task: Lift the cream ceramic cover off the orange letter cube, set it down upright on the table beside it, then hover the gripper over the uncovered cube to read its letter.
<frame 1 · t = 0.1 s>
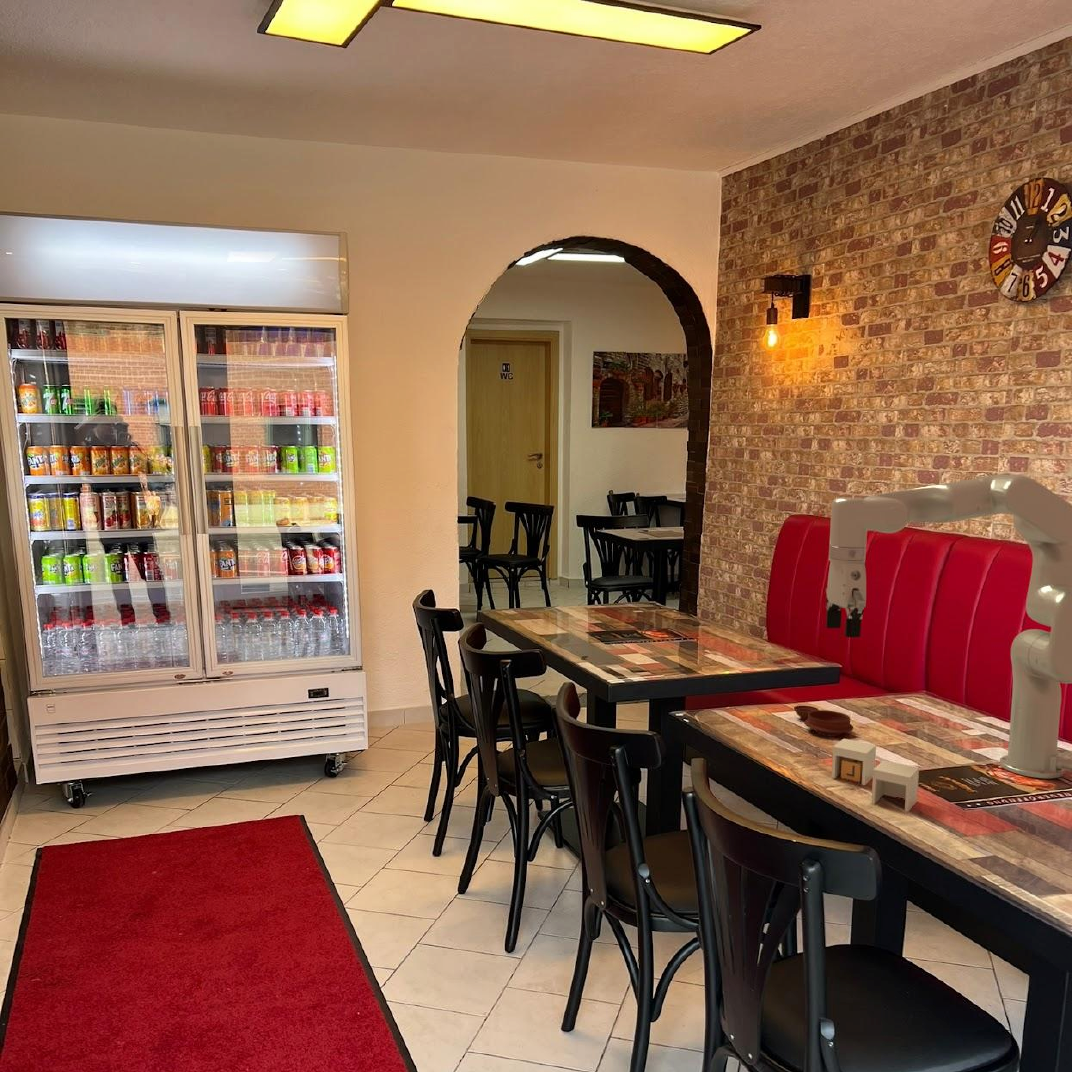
hand: (842, 632, 196), 31 cm above the table, tool pointing down, fingers open, 9 cm apart
cover empty: (894, 802, 181), on the table
cover cube: (853, 777, 194), on the table
letter cube: (853, 777, 195), on the table
pottery: (819, 728, 230), on the table
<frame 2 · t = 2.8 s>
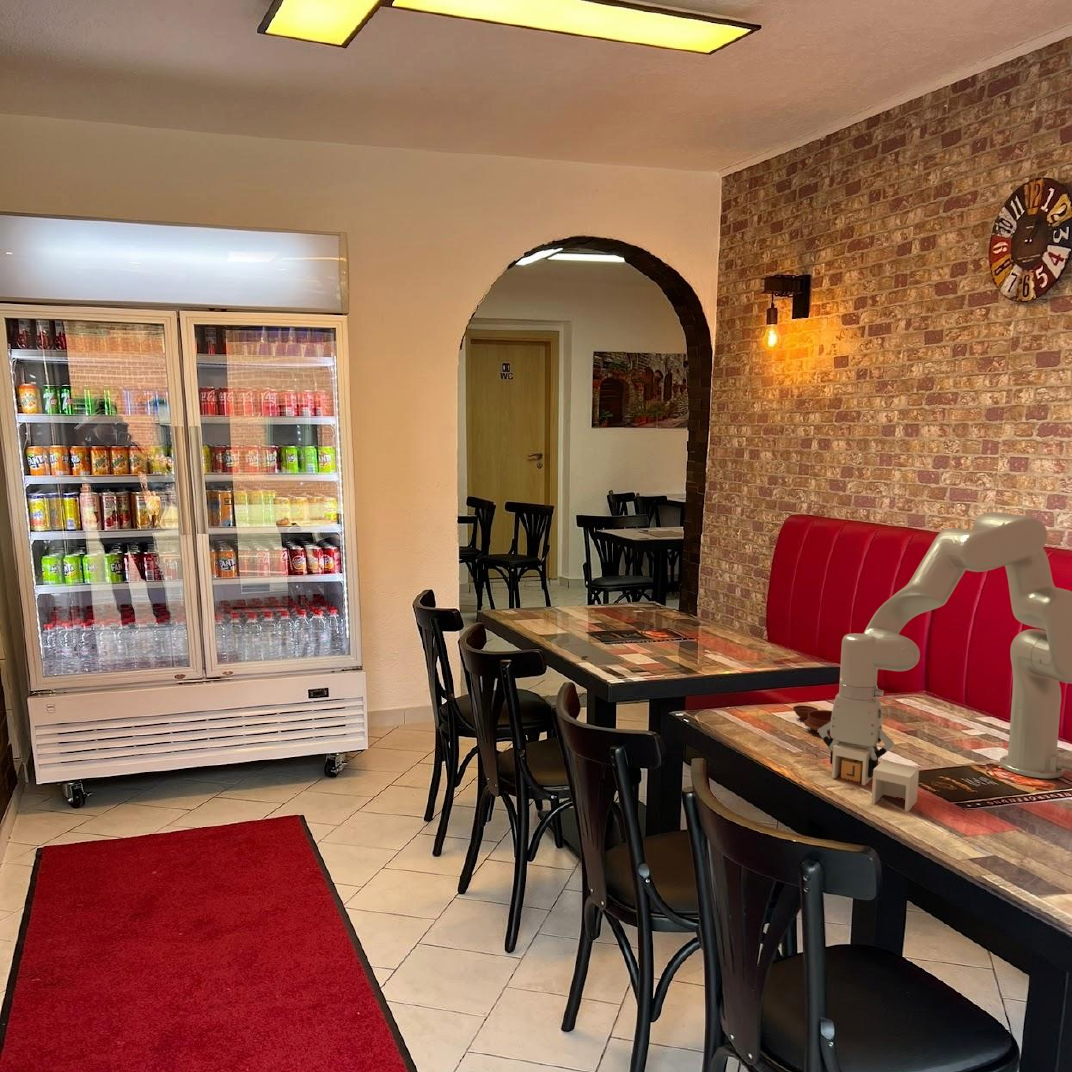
hand: (853, 771, 194), 1 cm above the table, tool pointing down, fingers closed on cover cube, 7 cm apart
cover cube: (852, 777, 194), on the table, touching gripper
everything else where it was.
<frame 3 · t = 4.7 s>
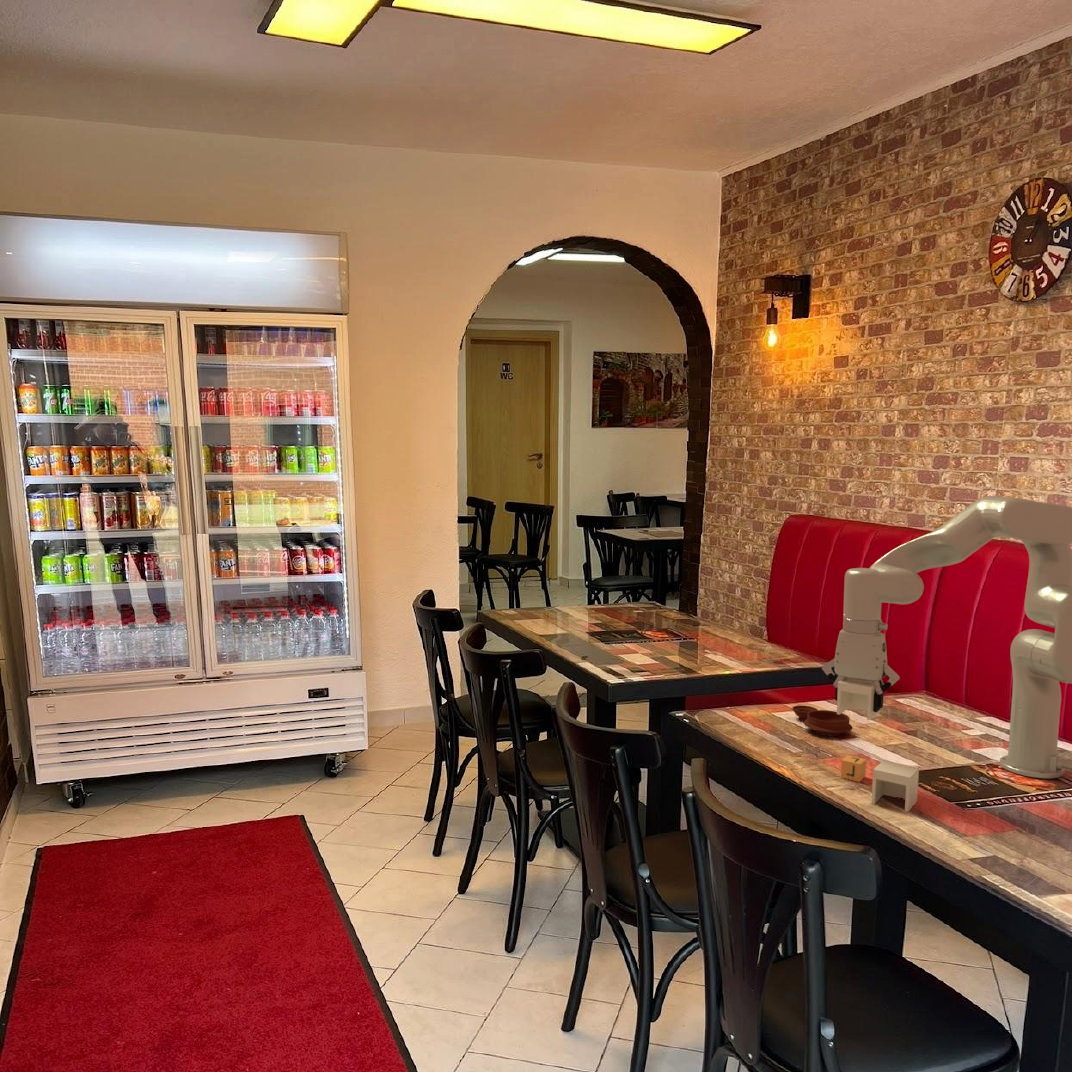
hand: (858, 707, 193), 16 cm above the table, tool pointing down, fingers closed on cover cube, 7 cm apart
cover cube: (858, 713, 193), point 14 cm above the table, touching gripper
everything else where it was.
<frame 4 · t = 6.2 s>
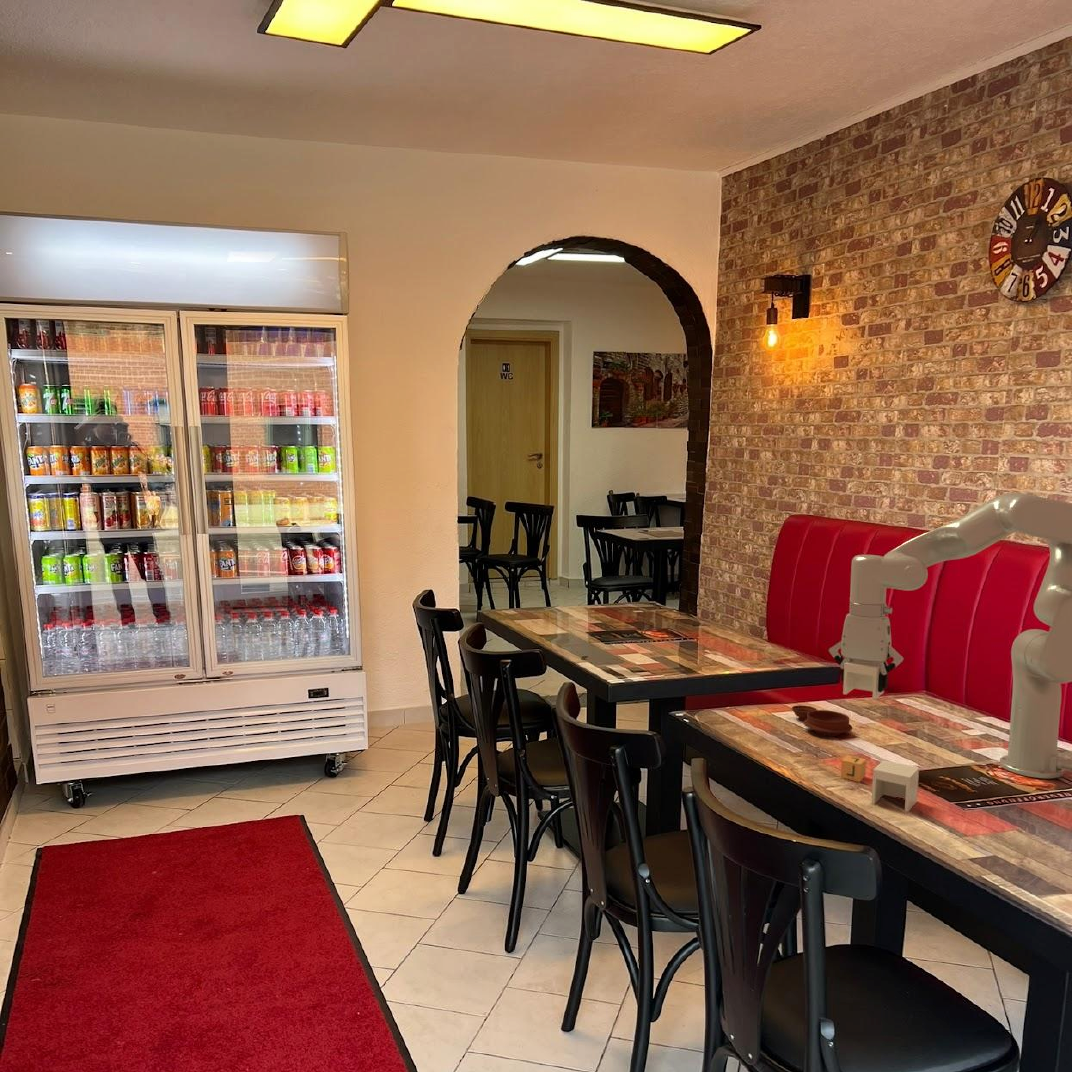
hand: (863, 687, 202), 17 cm above the table, tool pointing down, fingers closed on cover cube, 7 cm apart
cover cube: (863, 693, 202), point 16 cm above the table, touching gripper
everything else where it was.
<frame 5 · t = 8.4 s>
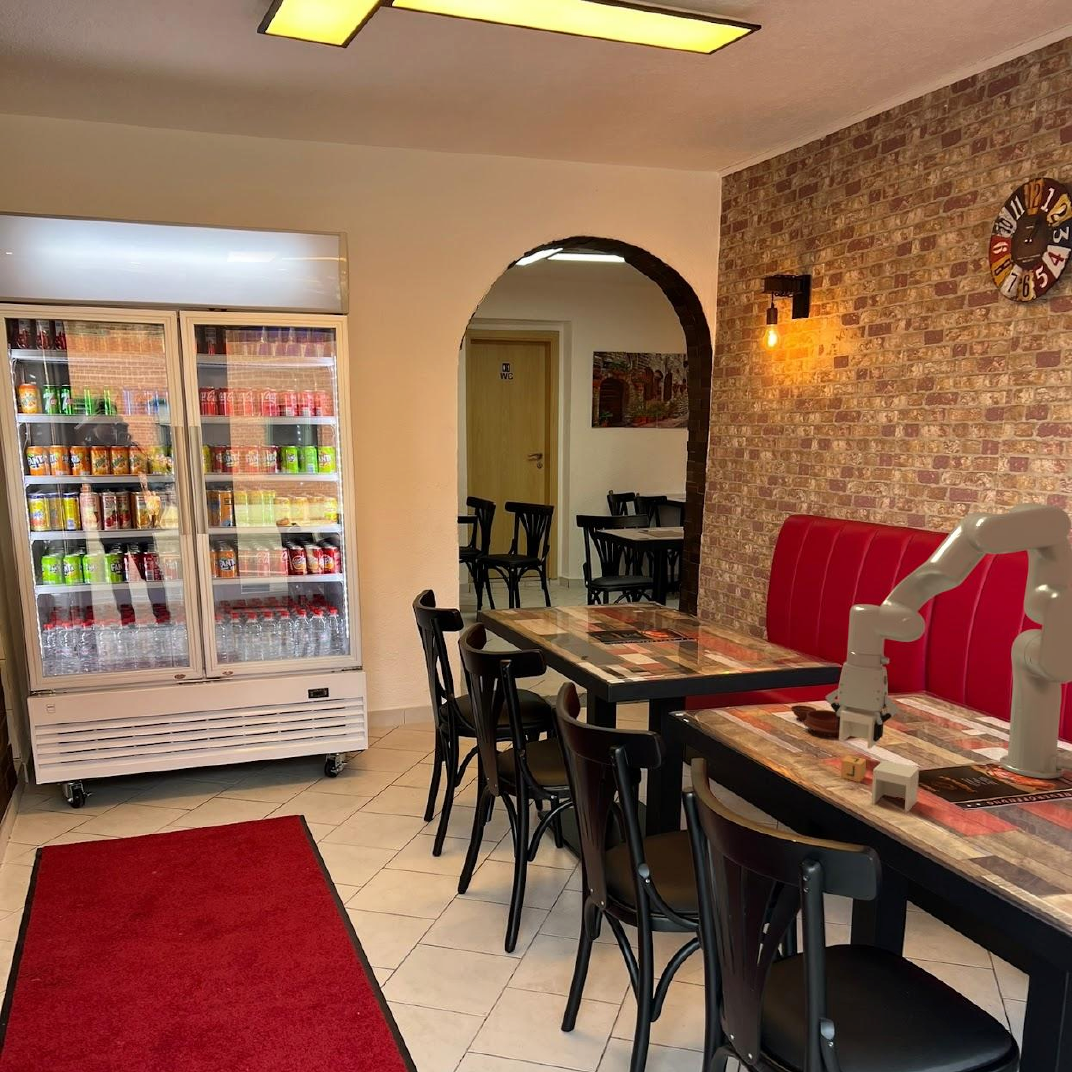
hand: (859, 735, 204), 6 cm above the table, tool pointing down, fingers closed on cover cube, 7 cm apart
cover cube: (859, 741, 204), point 5 cm above the table, touching gripper
everything else where it was.
when the fingers open (2 cm above the table, at t = 9.8 s): cover cube stays where it is, on the table.
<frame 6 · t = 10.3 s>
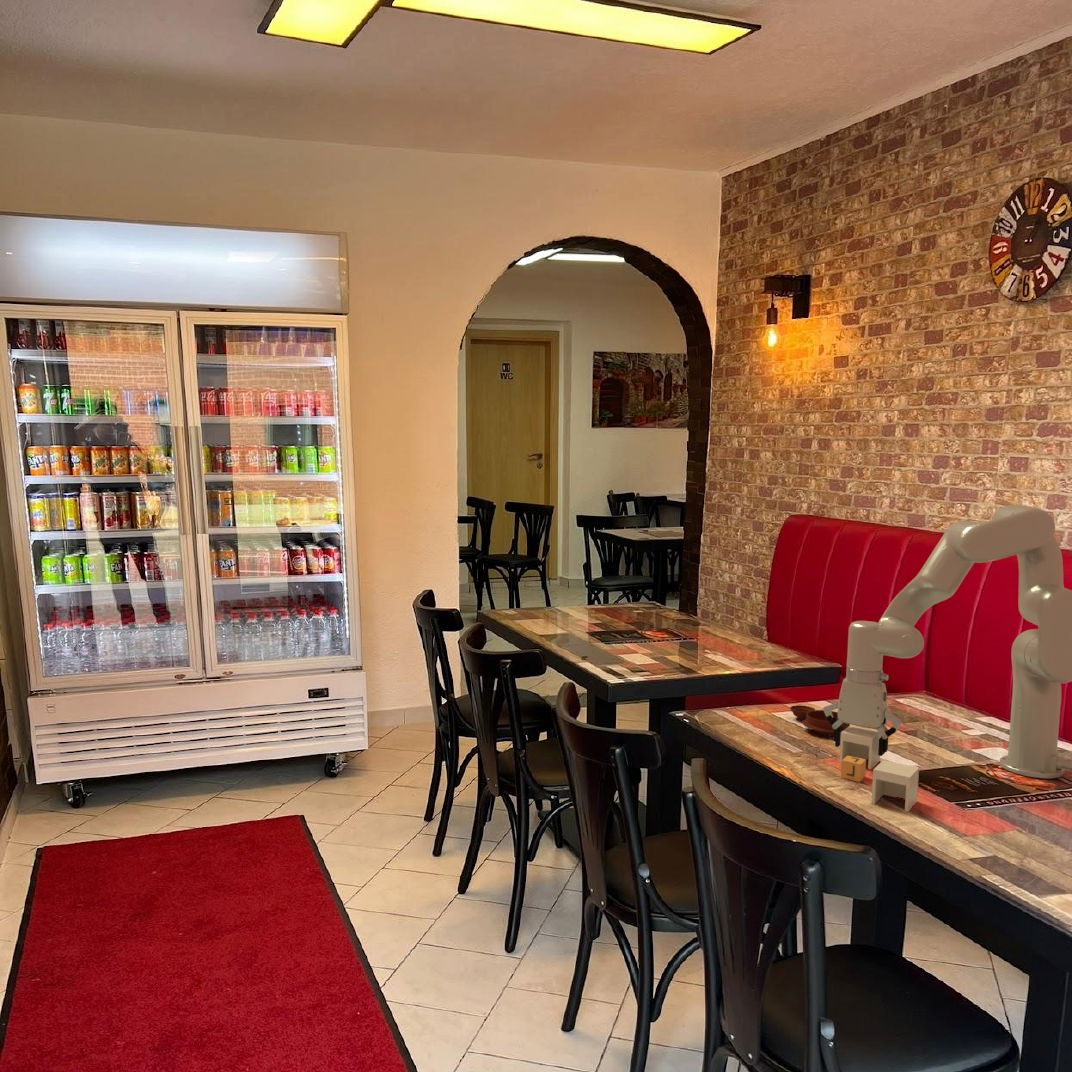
hand: (859, 749, 204), 3 cm above the table, tool pointing down, fingers open, 9 cm apart
cover cube: (859, 761, 204), on the table
everything else where it was.
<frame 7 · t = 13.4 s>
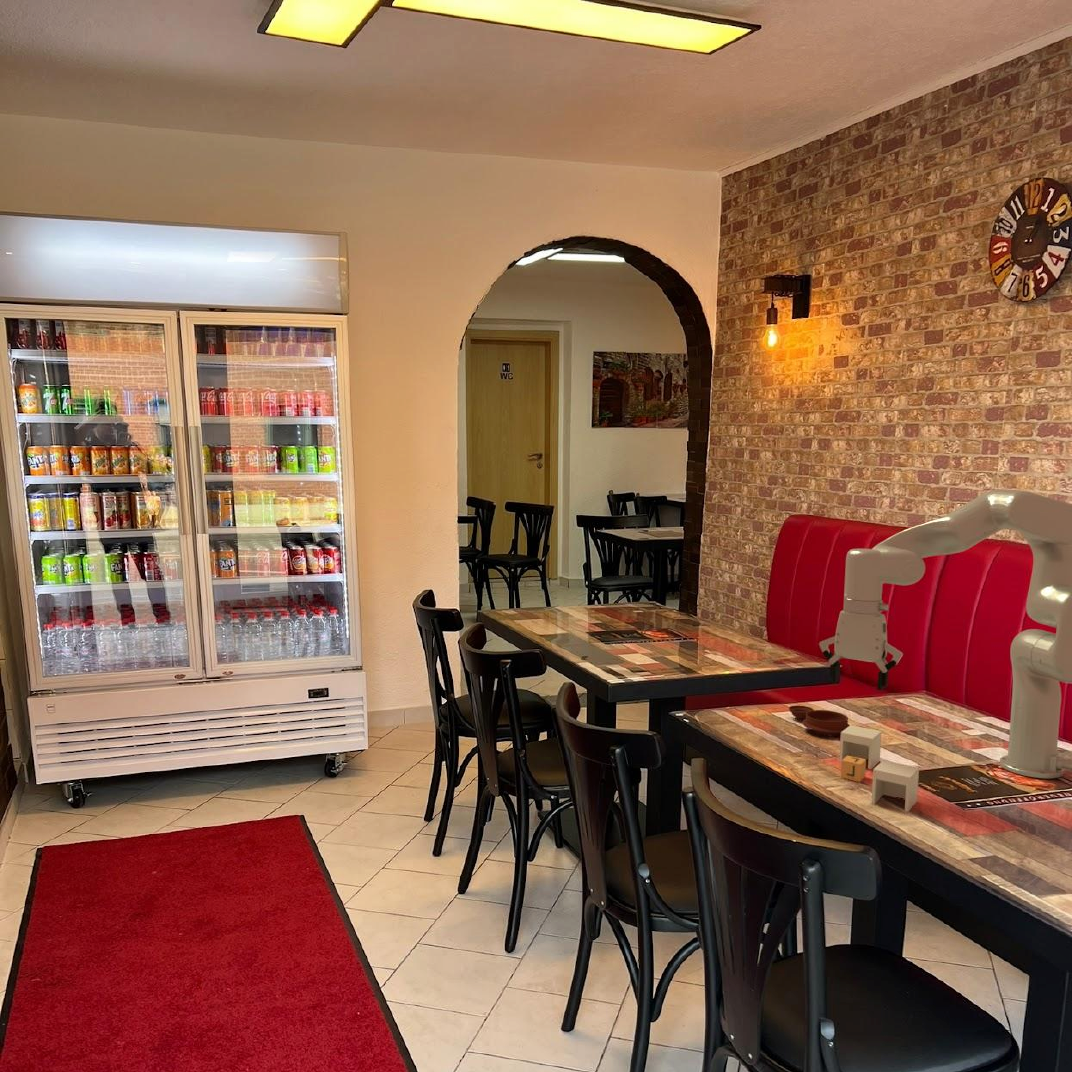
hand: (858, 685, 193), 20 cm above the table, tool pointing down, fingers open, 9 cm apart
nothing on the table moved.
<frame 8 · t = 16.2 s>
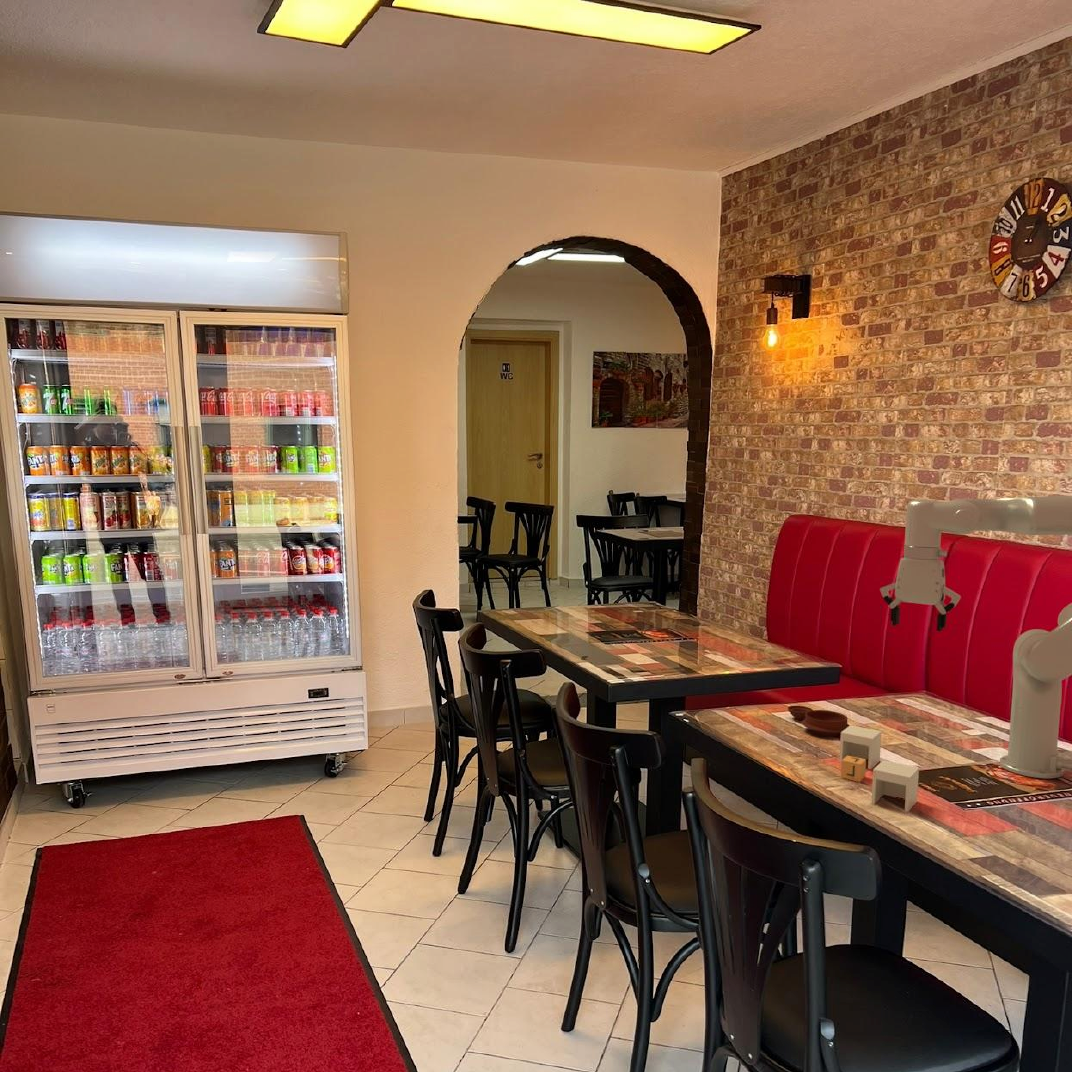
hand: (917, 627, 206), 30 cm above the table, tool pointing down, fingers open, 9 cm apart
at the end: cover cube inside the target area (0.1 cm from its centre), on the table; cover cube tilted 0°; letter cube moved 0.1 cm from its start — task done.
